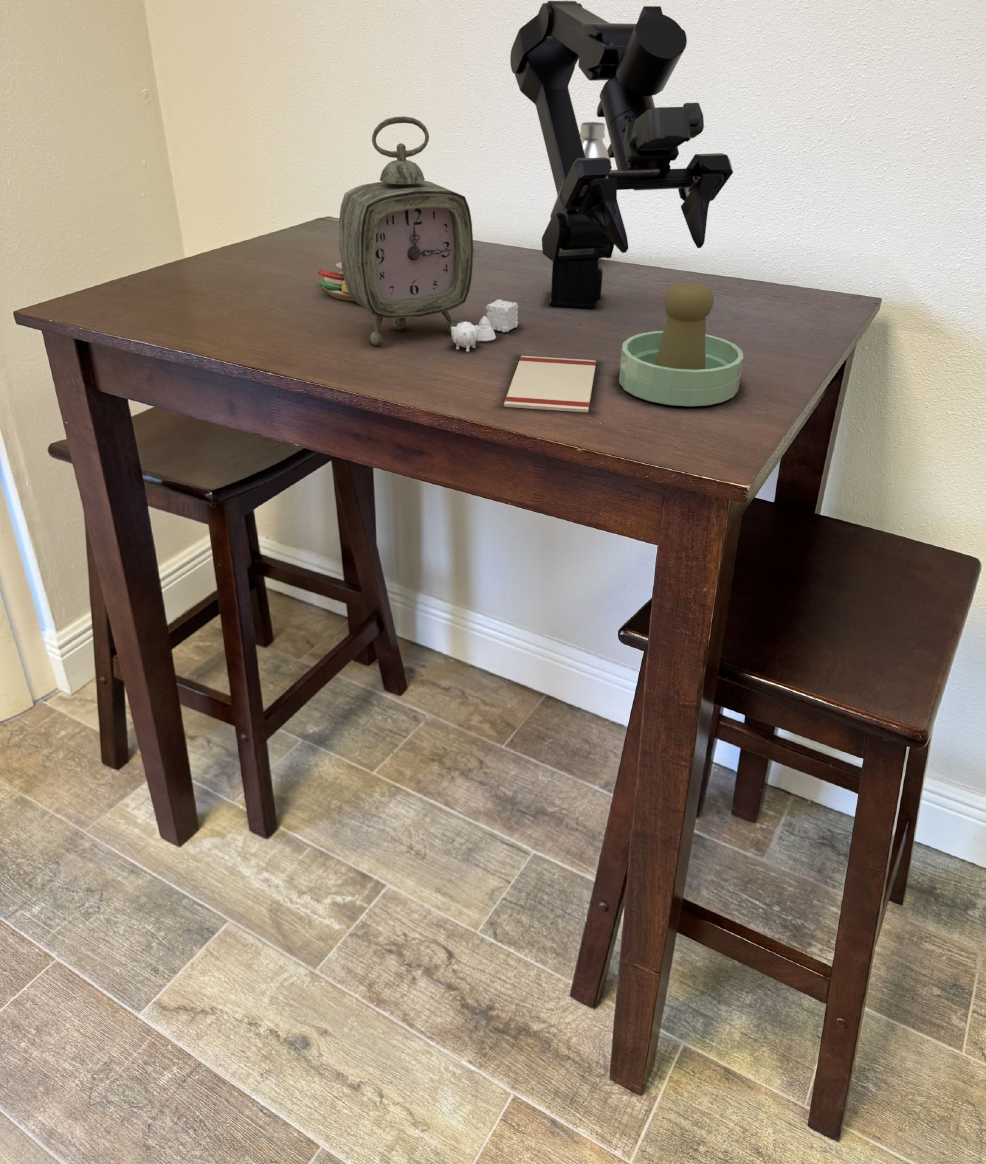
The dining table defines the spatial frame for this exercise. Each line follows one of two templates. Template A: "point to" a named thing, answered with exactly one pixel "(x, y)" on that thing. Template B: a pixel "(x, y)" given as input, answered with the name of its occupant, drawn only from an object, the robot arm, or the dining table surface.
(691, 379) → the bowl
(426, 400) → the dining table surface
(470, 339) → the game pieces
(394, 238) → the tabletop clock
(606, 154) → the metal bottle
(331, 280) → the toy food set
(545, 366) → the towel
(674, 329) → the cork
